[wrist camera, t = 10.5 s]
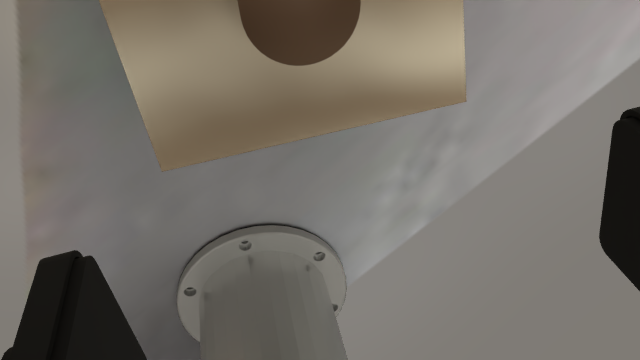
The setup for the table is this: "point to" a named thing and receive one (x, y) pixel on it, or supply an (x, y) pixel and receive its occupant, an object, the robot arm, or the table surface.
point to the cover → (281, 68)
